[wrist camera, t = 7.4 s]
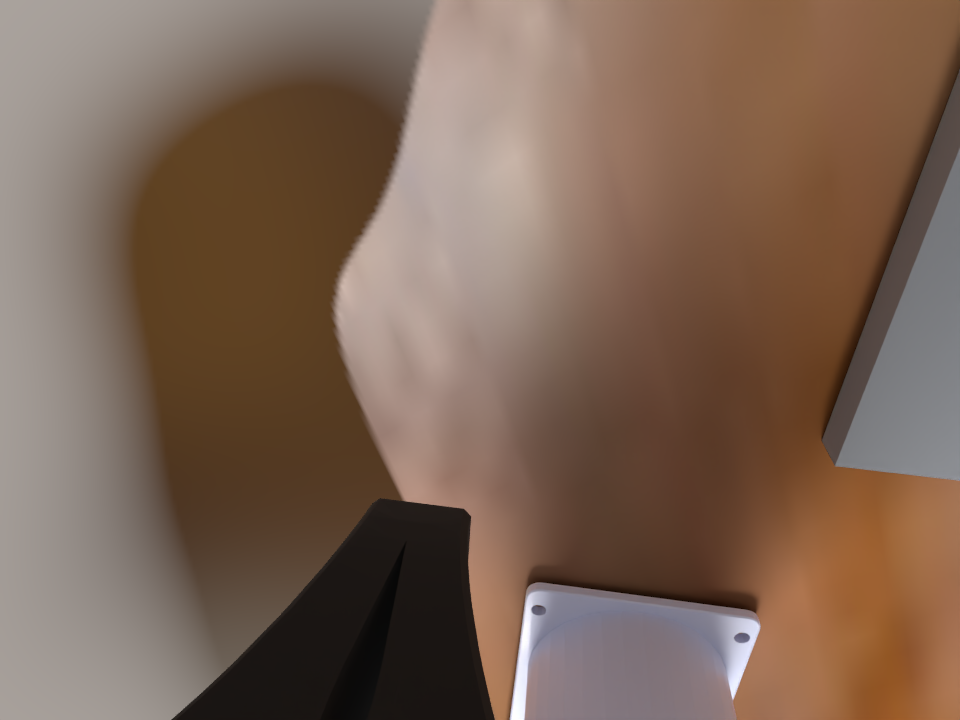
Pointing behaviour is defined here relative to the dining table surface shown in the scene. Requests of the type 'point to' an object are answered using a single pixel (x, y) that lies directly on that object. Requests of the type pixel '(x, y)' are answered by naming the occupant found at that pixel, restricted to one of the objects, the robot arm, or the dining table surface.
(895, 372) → the jig board
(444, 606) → the robot arm
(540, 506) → the dining table surface
